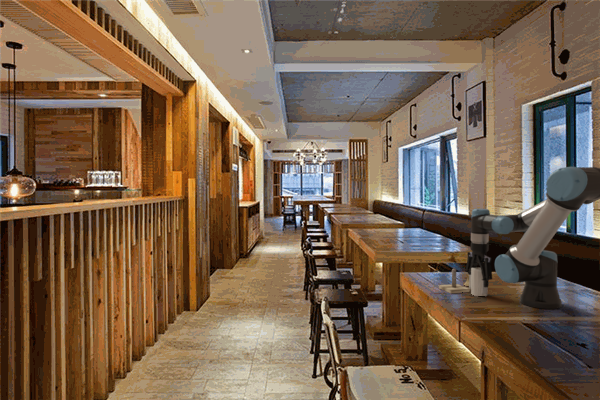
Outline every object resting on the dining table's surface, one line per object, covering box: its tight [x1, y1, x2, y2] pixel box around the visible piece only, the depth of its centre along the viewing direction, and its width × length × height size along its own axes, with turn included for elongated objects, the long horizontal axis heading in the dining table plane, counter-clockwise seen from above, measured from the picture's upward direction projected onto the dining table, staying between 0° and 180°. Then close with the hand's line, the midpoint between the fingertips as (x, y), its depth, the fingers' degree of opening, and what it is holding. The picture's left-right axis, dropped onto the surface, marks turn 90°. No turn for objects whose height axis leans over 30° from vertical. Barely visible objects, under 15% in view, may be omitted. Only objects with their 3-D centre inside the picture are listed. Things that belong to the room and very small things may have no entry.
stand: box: [438, 268, 471, 294], centre depth 197 cm, size 10×10×10 cm
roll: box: [470, 267, 488, 297], centre depth 189 cm, size 7×7×12 cm
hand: (478, 290), depth 190 cm, fingers open, 8 cm apart
